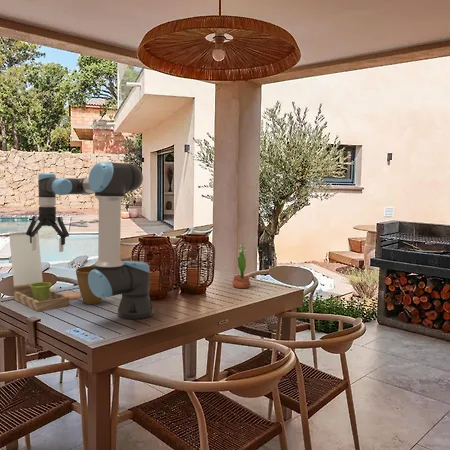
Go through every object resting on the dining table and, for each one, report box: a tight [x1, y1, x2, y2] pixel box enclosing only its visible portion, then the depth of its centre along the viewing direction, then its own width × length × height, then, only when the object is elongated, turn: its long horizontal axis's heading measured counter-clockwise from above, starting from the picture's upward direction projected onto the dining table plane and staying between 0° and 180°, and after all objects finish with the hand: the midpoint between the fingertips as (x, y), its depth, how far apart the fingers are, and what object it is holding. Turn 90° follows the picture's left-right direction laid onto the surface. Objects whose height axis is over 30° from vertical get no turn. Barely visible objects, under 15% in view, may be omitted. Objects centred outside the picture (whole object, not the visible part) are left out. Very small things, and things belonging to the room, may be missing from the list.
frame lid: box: [8, 231, 44, 287], centre depth 219 cm, size 25×14×1 cm
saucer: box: [59, 291, 82, 301], centre depth 222 cm, size 13×13×1 cm
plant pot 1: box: [29, 281, 52, 302], centre depth 210 cm, size 9×9×9 cm
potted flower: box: [231, 243, 251, 289], centre depth 251 cm, size 12×10×25 cm
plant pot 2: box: [75, 265, 103, 305], centre depth 212 cm, size 15×15×16 cm
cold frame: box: [13, 284, 70, 312], centre depth 210 cm, size 26×14×6 cm, turn 46°
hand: (47, 251), depth 214 cm, fingers open, 13 cm apart
